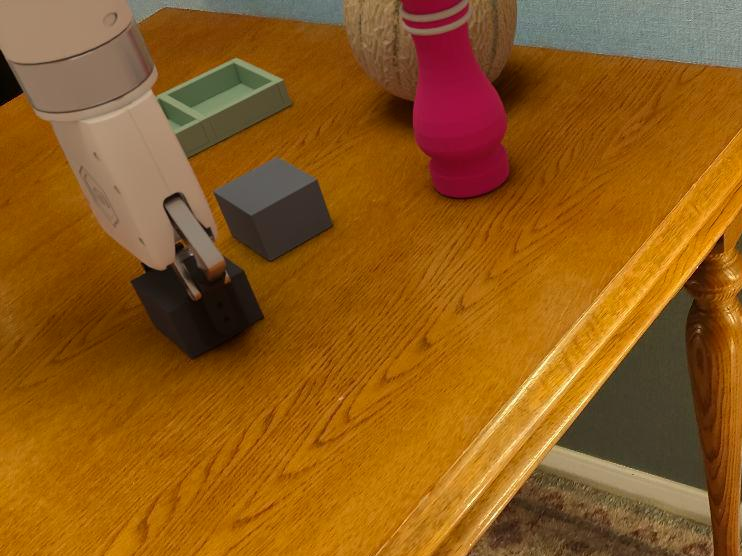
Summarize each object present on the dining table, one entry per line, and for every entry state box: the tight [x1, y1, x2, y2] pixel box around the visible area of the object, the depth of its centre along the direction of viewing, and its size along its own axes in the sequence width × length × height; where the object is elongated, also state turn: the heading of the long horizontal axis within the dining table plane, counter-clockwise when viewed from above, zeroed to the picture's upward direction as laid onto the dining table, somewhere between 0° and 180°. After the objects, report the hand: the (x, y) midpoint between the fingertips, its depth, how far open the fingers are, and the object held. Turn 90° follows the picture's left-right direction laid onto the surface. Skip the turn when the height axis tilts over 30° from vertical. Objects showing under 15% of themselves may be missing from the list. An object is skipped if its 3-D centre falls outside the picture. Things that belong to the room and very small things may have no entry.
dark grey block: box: [130, 254, 264, 360], centre depth 71 cm, size 6×6×4 cm
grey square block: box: [212, 156, 334, 262], centre depth 78 cm, size 6×6×4 cm
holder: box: [155, 57, 293, 159], centre depth 93 cm, size 17×9×2 cm, turn 132°
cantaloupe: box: [342, 0, 518, 103], centre depth 85 cm, size 15×15×15 cm
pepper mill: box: [399, 0, 511, 199], centre depth 73 cm, size 7×7×20 cm
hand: (205, 315), depth 72 cm, fingers closed on dark grey block, 6 cm apart
